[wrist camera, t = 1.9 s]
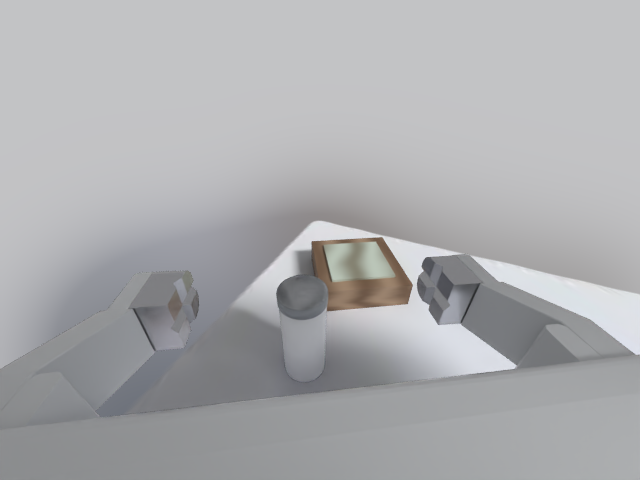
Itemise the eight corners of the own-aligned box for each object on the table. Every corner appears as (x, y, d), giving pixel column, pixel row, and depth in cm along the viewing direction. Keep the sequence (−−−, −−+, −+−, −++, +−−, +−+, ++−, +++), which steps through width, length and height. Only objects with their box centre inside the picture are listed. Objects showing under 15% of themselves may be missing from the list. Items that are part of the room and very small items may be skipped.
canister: (322, 342, 34) (324, 273, 28) (328, 380, 30) (332, 308, 24) (284, 346, 34) (276, 276, 27) (284, 385, 29) (275, 313, 23)
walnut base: (379, 253, 52) (382, 235, 50) (407, 303, 40) (413, 282, 38) (311, 258, 51) (311, 239, 48) (320, 311, 39) (321, 290, 37)
